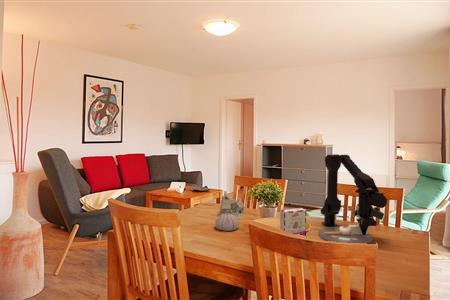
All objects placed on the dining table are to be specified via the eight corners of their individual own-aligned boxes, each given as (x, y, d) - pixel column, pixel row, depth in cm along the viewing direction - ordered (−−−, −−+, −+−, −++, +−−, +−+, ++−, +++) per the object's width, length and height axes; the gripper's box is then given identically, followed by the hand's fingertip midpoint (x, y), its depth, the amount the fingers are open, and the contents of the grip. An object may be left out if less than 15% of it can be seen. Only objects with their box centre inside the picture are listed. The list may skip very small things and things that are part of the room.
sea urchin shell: (235, 233, 160) (235, 218, 159) (210, 230, 164) (210, 215, 164) (242, 226, 172) (242, 211, 172) (219, 223, 176) (219, 209, 176)
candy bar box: (300, 241, 148) (301, 207, 147) (306, 245, 143) (307, 210, 142) (279, 243, 145) (279, 209, 144) (284, 247, 140) (284, 211, 139)
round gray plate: (311, 229, 166) (311, 226, 166) (355, 228, 168) (355, 225, 168) (331, 246, 141) (331, 243, 141) (383, 245, 143) (383, 241, 143)
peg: (326, 235, 151) (326, 228, 151) (322, 232, 156) (322, 225, 156) (370, 234, 153) (370, 226, 153) (365, 231, 158) (365, 224, 158)
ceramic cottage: (215, 217, 190) (217, 192, 189) (223, 211, 205) (224, 189, 205) (240, 220, 185) (241, 195, 185) (245, 214, 201) (247, 192, 201)
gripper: (389, 208, 139) (388, 242, 140) (376, 199, 158) (375, 229, 158) (363, 207, 141) (362, 241, 142) (353, 198, 159) (352, 228, 160)
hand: (363, 235), depth 151 cm, fingers closed
